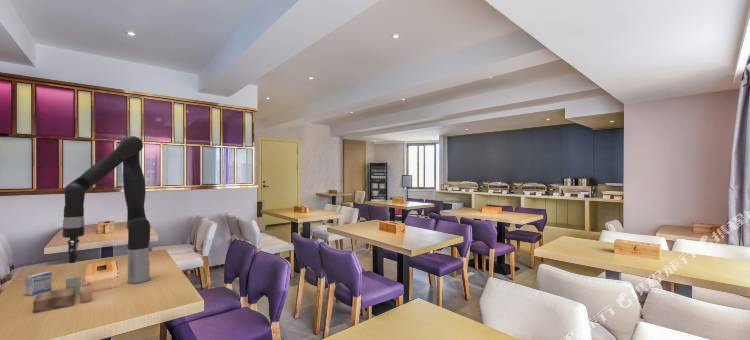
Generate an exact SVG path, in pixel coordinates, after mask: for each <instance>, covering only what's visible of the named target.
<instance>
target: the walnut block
mask: <svg viewBox="0 0 750 340" xmlns="http://www.w3.org/2000/svg"><path fill="white" fill-rule="evenodd" d="M75 300H76V295H75V287H72V288H66V287H65V288H62V289H57V290H56V289H55V290H49V291H45V292H42V293H38V294H36V295H35V298H34V300H33V302H32V303H33V309H32V310H33V311H32V312H33V314H36V313H42V312H47V311H51V310H56V309H58V310H59V309H62V308H69V307H73V306H74V304H75Z"/></svg>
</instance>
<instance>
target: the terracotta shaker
mask: <svg viewBox="0 0 750 340" xmlns="http://www.w3.org/2000/svg"><path fill="white" fill-rule="evenodd" d="M91 301H93V284H92V283H91V281H89V280H85V281H83V282H81V286H80V294H79V303H80V304H85V303H89V302H91Z"/></svg>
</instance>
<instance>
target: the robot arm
mask: <svg viewBox="0 0 750 340" xmlns="http://www.w3.org/2000/svg"><path fill="white" fill-rule="evenodd" d="M143 148H144V143H143V140H142V139H141V138H139V137H137V136H134V135H129V136H126V137H123V138H122V139H121V140H120V141H119V143H118V146H117V147H116V148H115V149H114V150H112V152H110V153H108V155H107V156H105V157H104V158H102V159H100V160H99V161H98V162H96V163H95V164H93V165H92V166H91V167H89V168H88V169H87V170H86V171H85V172H83V173H82V174H81V175H80V176H78V177H77V178H76V179H74V180H73V181H71V182H70V183H68V184H66V186H65V187H64V188H63V193H64V207H63V220H62V237H63V238H67V239H68V240H67V251H68V252H67V255H68V263H69V264H74V263H76V261H77V259H78V250H79V247H80V239H79V238H80V237H83V236H85V216H84V215H85V206H84V204H85V198H86V197H85V194H86V192H87V191H88V190H89V189H90V188H92V187H93V186H94V185H97V184H98V183H99V182H100V181H102V180H103V179H104V178H105V177H106V176H108V175H109V174H110V173H111V172H112V171H113V170H114V169H116V168H117V167H118V166H119V165H120V164H121V163H122V183H123V184H122V185H123V193H124V199H125V203H126V209H127V213H126V214H127V219H126V229H127V231H128V235H127V237H128V238H127V239H128V240H127V280H126V281H127V283H128V284H140V283H145V282H148V281H150V279H151V278H150V277H151V276H150V275H151V273H150V272H151V271H150V270H151V269H150V267H151V266H150V265H151V264H150V243H151V223H150V222H149V220H148V219H147V216H146V211H145V201H146V179H145V175H144V172H143V169H142V167H141V159H140V152H142V149H143Z"/></svg>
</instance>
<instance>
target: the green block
mask: <svg viewBox="0 0 750 340" xmlns="http://www.w3.org/2000/svg"><path fill="white" fill-rule="evenodd" d="M81 284H82V274H75V275H68V276H66V277H65V289H66V288H72V287H75V296H77V295H79V296H80V286H81Z"/></svg>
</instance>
